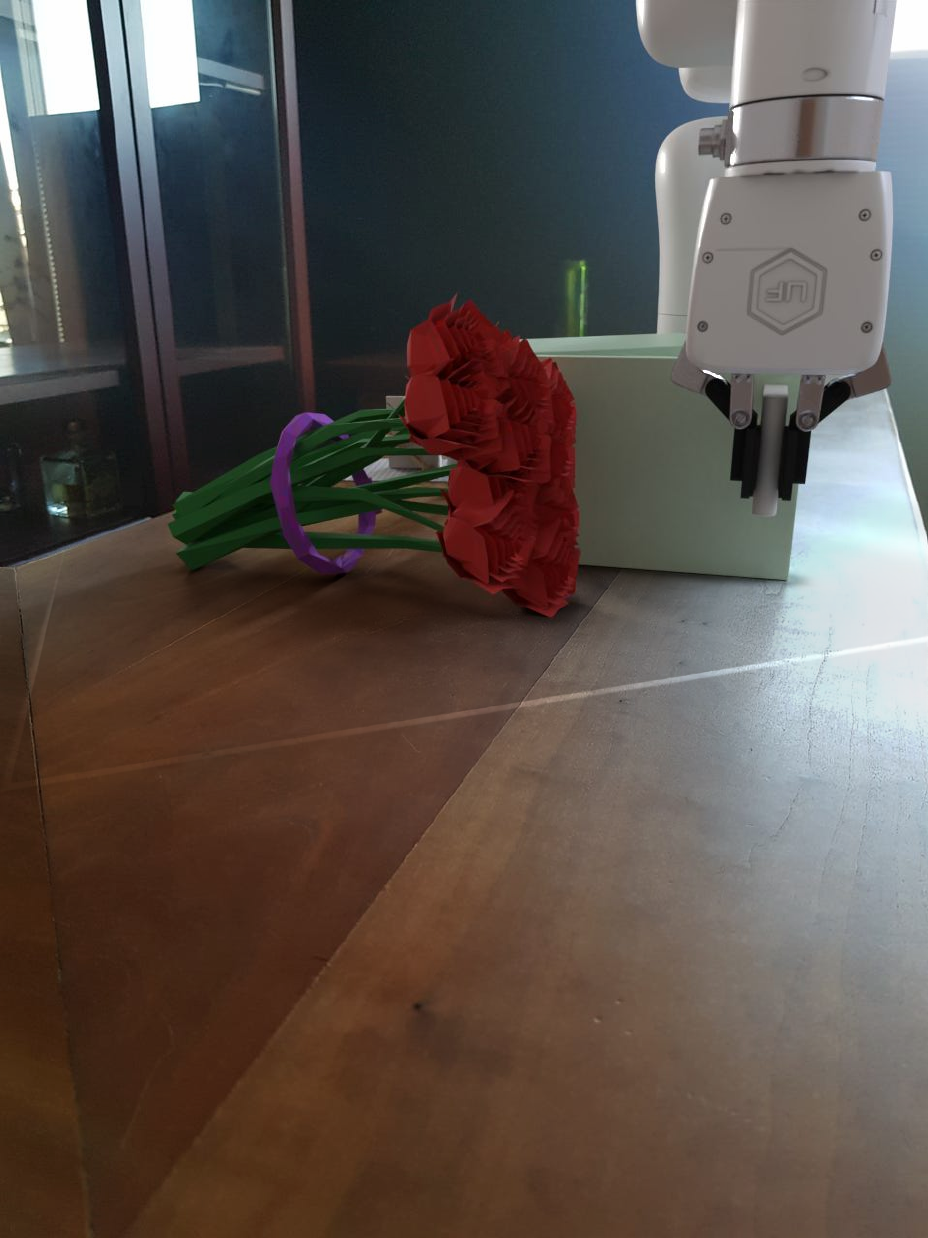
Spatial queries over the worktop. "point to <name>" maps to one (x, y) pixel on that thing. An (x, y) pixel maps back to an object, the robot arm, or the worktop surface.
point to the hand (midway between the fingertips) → (766, 492)
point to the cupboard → (612, 345)
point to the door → (675, 471)
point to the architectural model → (402, 457)
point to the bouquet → (443, 425)
